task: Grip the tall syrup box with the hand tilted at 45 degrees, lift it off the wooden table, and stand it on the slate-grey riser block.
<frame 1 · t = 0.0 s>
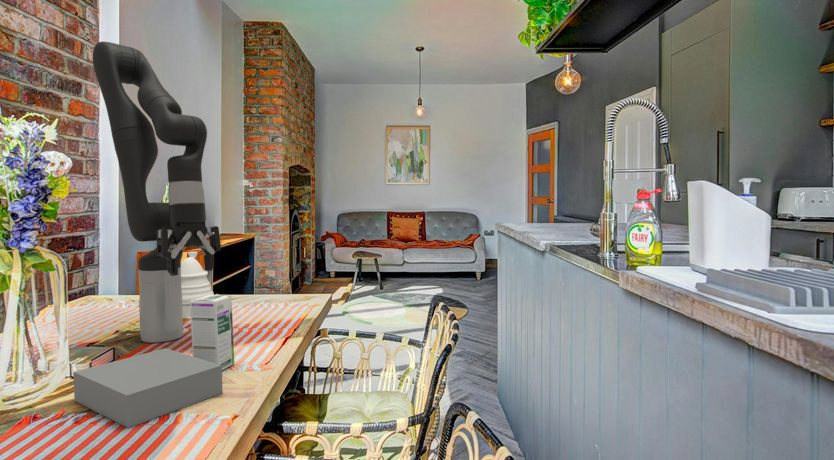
hand: (192, 273, 114), 17 cm above the table, tool pointing down, fingers open, 8 cm apart
riser: (149, 396, 86), on the table
syrup box: (213, 368, 101), on the table
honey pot: (191, 312, 150), on the table
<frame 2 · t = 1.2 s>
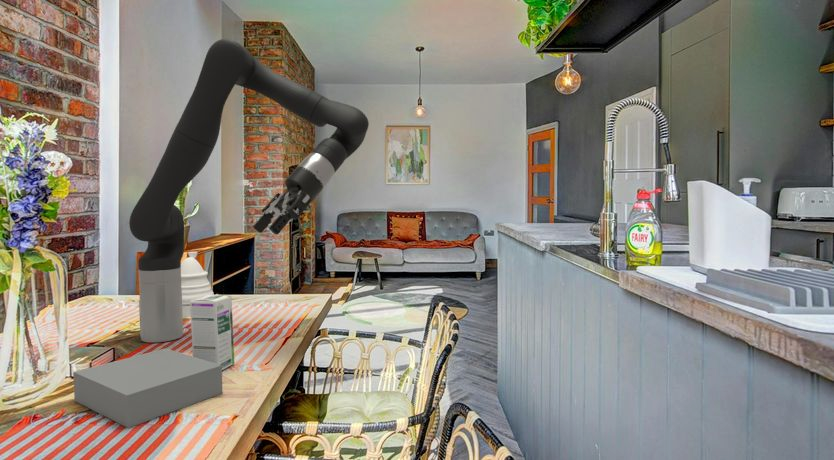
hand: (264, 231, 106), 27 cm above the table, tool tilted 45°, fingers open, 8 cm apart
nothing on the table moved.
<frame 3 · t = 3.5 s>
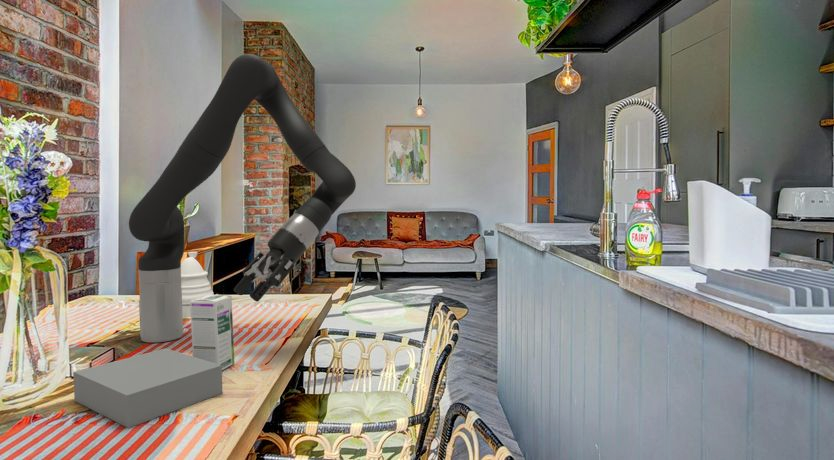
hand: (244, 295, 104), 14 cm above the table, tool tilted 45°, fingers open, 8 cm apart
nothing on the table moved.
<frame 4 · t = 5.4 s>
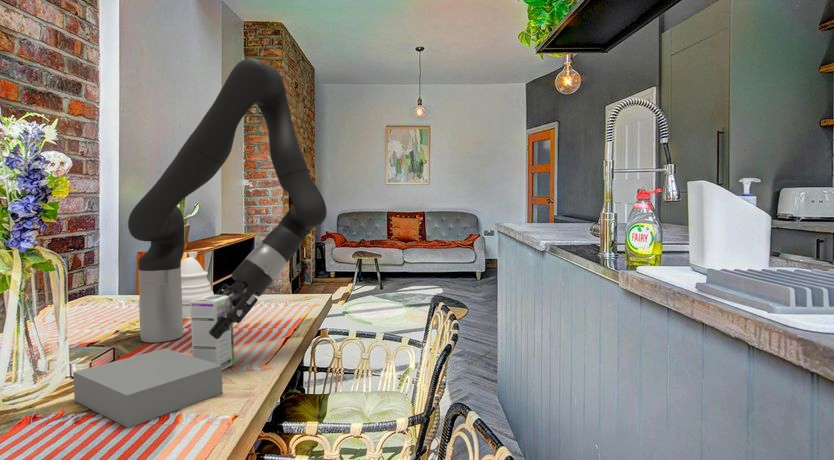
hand: (205, 332, 99), 8 cm above the table, tool tilted 45°, fingers closed on syrup box, 8 cm apart
syrup box: (213, 368, 101), on the table, touching gripper
everything else where it was.
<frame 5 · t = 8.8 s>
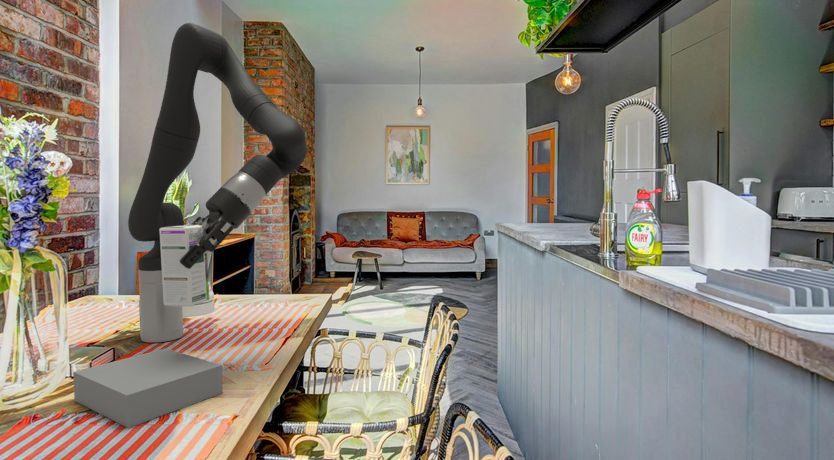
hand: (176, 263, 91), 22 cm above the table, tool tilted 45°, fingers closed on syrup box, 7 cm apart
syrup box: (186, 304, 93), point 15 cm above the table, touching gripper
everything else where it was.
when the fingers open (14 cm above the table, at t = 12.0 s): syrup box drops 1 cm, resting on riser.
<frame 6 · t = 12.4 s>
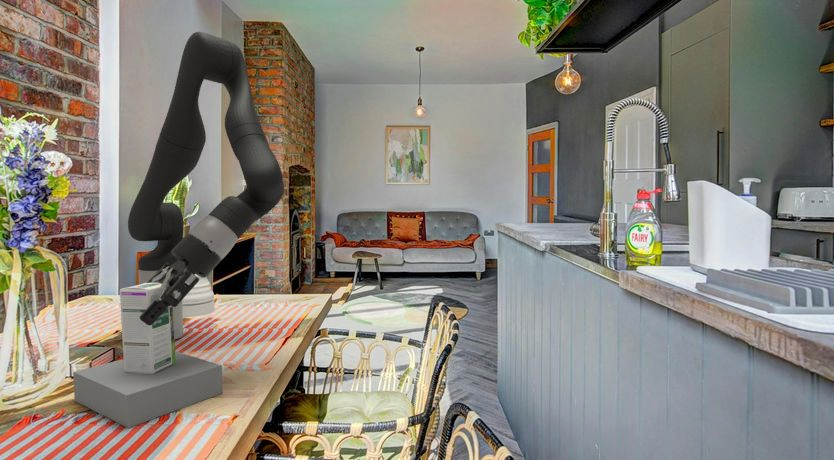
hand: (138, 317, 84), 14 cm above the table, tool tilted 45°, fingers open, 8 cm apart
syrup box: (150, 369, 86), point 5 cm above the table, touching gripper, riser
everything else where it was.
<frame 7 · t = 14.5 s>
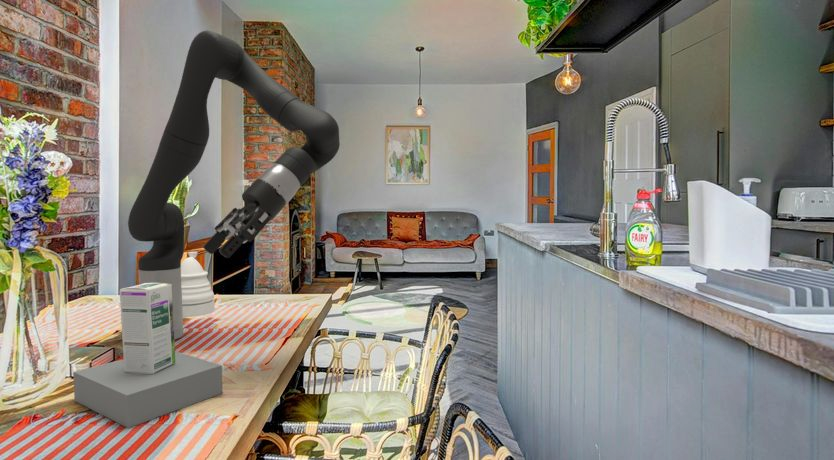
hand: (214, 252, 92), 24 cm above the table, tool tilted 45°, fingers open, 8 cm apart
syrup box: (150, 369, 86), point 5 cm above the table, touching riser
everything else where it was.
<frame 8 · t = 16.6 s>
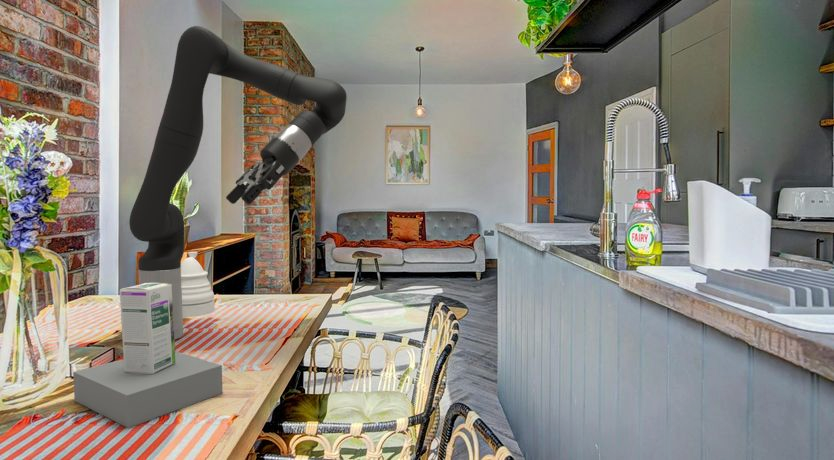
hand: (236, 201, 104), 34 cm above the table, tool tilted 45°, fingers open, 8 cm apart
nothing on the table moved.
at the end: syrup box inside the target area on the riser (0.2 cm from its centre), point 4.8 cm above the riser's base; syrup box tilted 0°; the gripper is holding nothing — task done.
